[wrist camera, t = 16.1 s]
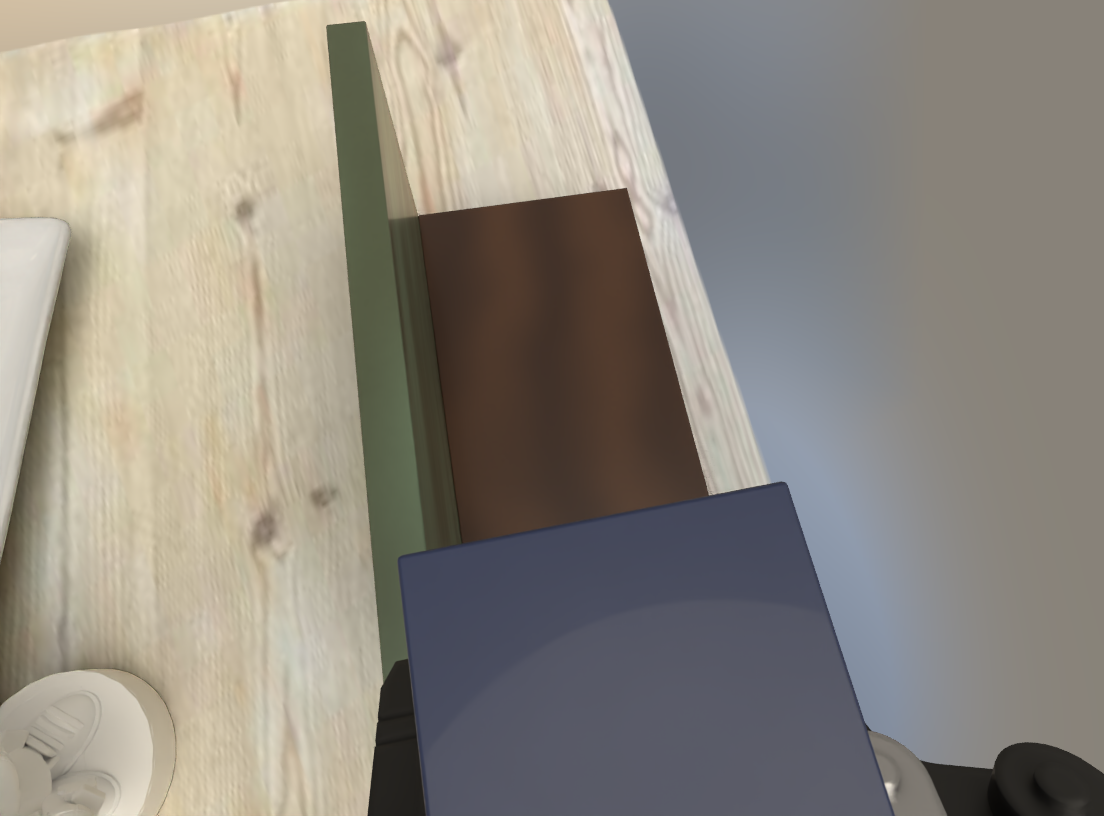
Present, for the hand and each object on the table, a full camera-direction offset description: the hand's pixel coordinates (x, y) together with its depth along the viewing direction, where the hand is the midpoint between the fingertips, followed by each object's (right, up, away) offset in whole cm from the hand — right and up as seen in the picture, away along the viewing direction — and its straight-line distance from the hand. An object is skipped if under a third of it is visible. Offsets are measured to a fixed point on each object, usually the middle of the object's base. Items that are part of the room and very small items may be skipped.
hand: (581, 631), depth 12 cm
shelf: (0, +3, +25) cm, 26 cm away
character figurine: (-23, -13, +19) cm, 33 cm away
